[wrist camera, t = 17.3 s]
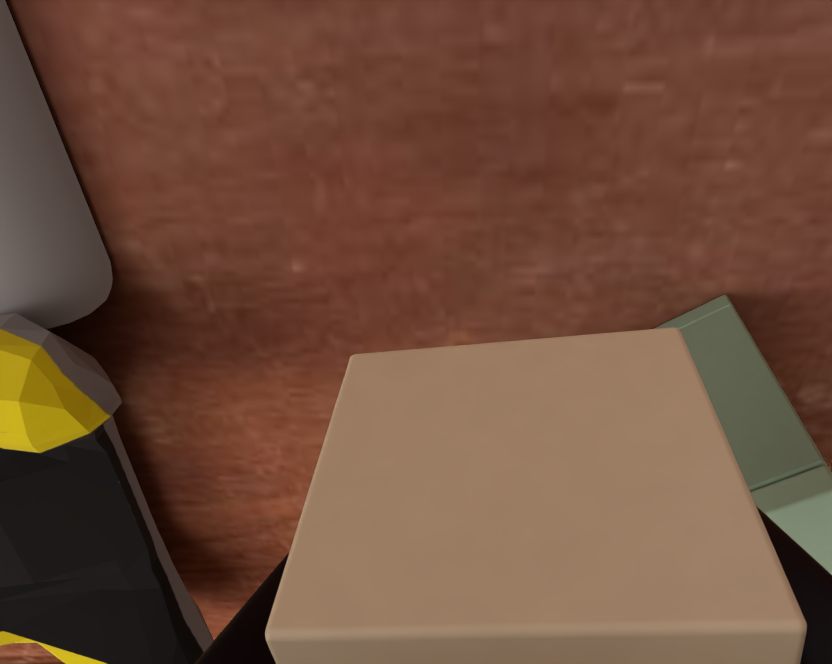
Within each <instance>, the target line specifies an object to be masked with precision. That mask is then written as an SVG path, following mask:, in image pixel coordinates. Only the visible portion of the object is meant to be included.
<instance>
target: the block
mask: <svg viewBox="0 0 832 664" xmlns="http://www.w3.org/2000/svg"><path fill="white" fill-rule="evenodd" d="M806 632H807V623H806V621H805V619H804V616H803V614H802V612H801V609H800V607H799V605H798V602H797V600H796V598H795V595H794V593H793V591H792V588H791V586H790V584H789V581H788V579H787V577H786V575H785V572H784V570H783V568H782V565H781V563H780V561H779V558H778V556H777V554H776V551H775V549H774V547H773V544H772V542H771V540H770V537H769V535H768V533H767V530H766V528H765V526H764V523H763V521H762V519H761V516H760V514H759V512H758V510H757V507H756V505H755V503H754V500H753V498H752V496H751V493H750V491H749V489H748V486H747V484H746V482H745V479H744V477H743V475H742V472H741V470H740V468H739V465H738V463H737V461H736V458H735V456H734V454H733V451H732V449H731V447H730V445H729V442H728V440H727V438H726V435H725V433H724V431H723V428H722V426H721V424H720V421H719V419H718V417H717V414H716V412H715V410H714V407H713V405H712V403H711V400H710V398H709V396H708V393H707V391H706V389H705V386H704V384H703V382H702V379H701V377H700V375H699V373H698V370H697V368H696V366H695V363H694V361H693V359H692V356H691V354H690V352H689V349H688V347H687V345H686V342H685V340H684V338H683V335H682V333H681V331H680V329H678V328H674V327H671V328H659V329H647V330H635V331H623V332H612V333H600V334H588V335H576V336H564V337H552V338H540V339H528V340H516V341H504V342H492V343H481V344H469V345H457V346H445V347H433V348H421V349H409V350H397V351H385V352H373V353H362V354H354V355H352V356H351V357H350V360H349V363H348V366H347V369H346V373H345V376H344V379H343V382H342V385H341V389H340V392H339V395H338V398H337V401H336V405H335V408H334V411H333V414H332V418H331V421H330V424H329V427H328V430H327V434H326V437H325V440H324V443H323V446H322V450H321V453H320V456H319V459H318V463H317V466H316V469H315V472H314V475H313V479H312V482H311V485H310V488H309V491H308V495H307V498H306V501H305V504H304V508H303V511H302V514H301V517H300V520H299V524H298V527H297V530H296V533H295V536H294V540H293V543H292V546H291V549H290V553H289V556H288V559H287V562H286V565H285V569H284V572H283V575H282V578H281V581H280V585H279V588H278V591H277V594H276V597H275V601H274V604H273V607H272V610H271V614H270V617H269V620H268V623H267V626H266V630H265V638H266V642H267V644H268V646H269V649H270V651H271V653H272V656H273V658H274V660H275V662H276V664H800V662H801V657H802V652H803V647H804V642H805V637H806Z"/></svg>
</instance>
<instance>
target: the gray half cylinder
mask: <svg viewBox="0 0 832 664" xmlns="http://www.w3.org/2000/svg"><path fill="white" fill-rule="evenodd" d="M112 281H113V277H112V269H111V262H110V259H109V257H108V254H107V252H106V249H105V247H104V244H103V242H102V239H101V237H100V235H99V232H98V230H97V227H96V225H95V222H94V220H93V217H92V215H91V212H90V210H89V207H88V205H87V202H86V200H85V197H84V195H83V192H82V190H81V187H80V185H79V182H78V180H77V177H76V175H75V172H74V170H73V167H72V165H71V162H70V160H69V158H68V155H67V153H66V150H65V148H64V145H63V143H62V140H61V138H60V135H59V133H58V130H57V128H56V125H55V123H54V120H53V118H52V115H51V113H50V110H49V108H48V105H47V103H46V100H45V98H44V95H43V93H42V90H41V88H40V85H39V83H38V81H37V78H36V76H35V73H34V71H33V68H32V66H31V63H30V61H29V58H28V56H27V53H26V51H25V48H24V46H23V43H22V41H21V38H20V36H19V33H18V31H17V28H16V26H15V23H14V21H13V18H12V16H11V13H10V11H9V8H8V6H7V3H6V1H5V0H0V315H5V314H11V313H17V314H18V315H20V316H22V317H24V318H26V319H28V320H29V321H31V322H33V323H35V324H37V325H39V326H40V327H42V328H44V329H49V328H53V327H57V326H60V325H64V324H68V323H71V322H73V321H75V320H77V319H80V318H82V317H84V316H87V315H89V314H90V313H92V312H93V311H94V310H95V309H96V308H98V307H99V306H100V305H101V304H102V303H104V302H105V301H106V300H107V298H108V295H109V293H110V290H111V287H112Z"/></svg>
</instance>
